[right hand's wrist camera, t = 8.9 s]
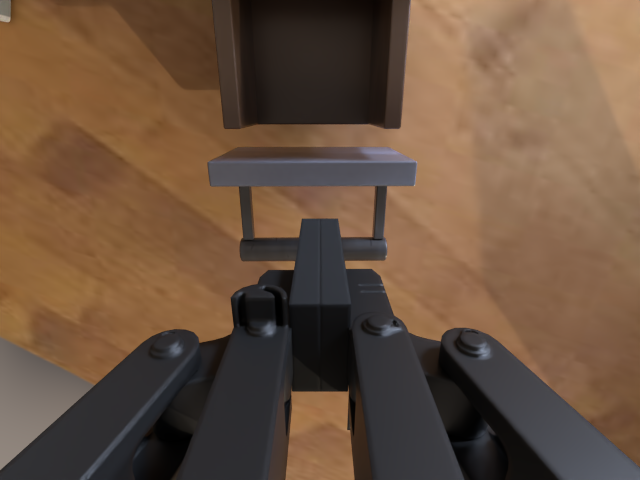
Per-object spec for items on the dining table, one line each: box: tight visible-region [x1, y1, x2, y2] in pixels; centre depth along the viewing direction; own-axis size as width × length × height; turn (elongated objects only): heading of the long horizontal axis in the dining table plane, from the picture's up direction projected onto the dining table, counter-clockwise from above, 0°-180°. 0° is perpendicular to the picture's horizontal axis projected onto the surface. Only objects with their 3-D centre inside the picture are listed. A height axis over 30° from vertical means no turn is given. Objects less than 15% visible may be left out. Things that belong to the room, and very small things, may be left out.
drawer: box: [208, 0, 417, 261], centre depth 18 cm, size 22×10×7 cm, turn 0°
